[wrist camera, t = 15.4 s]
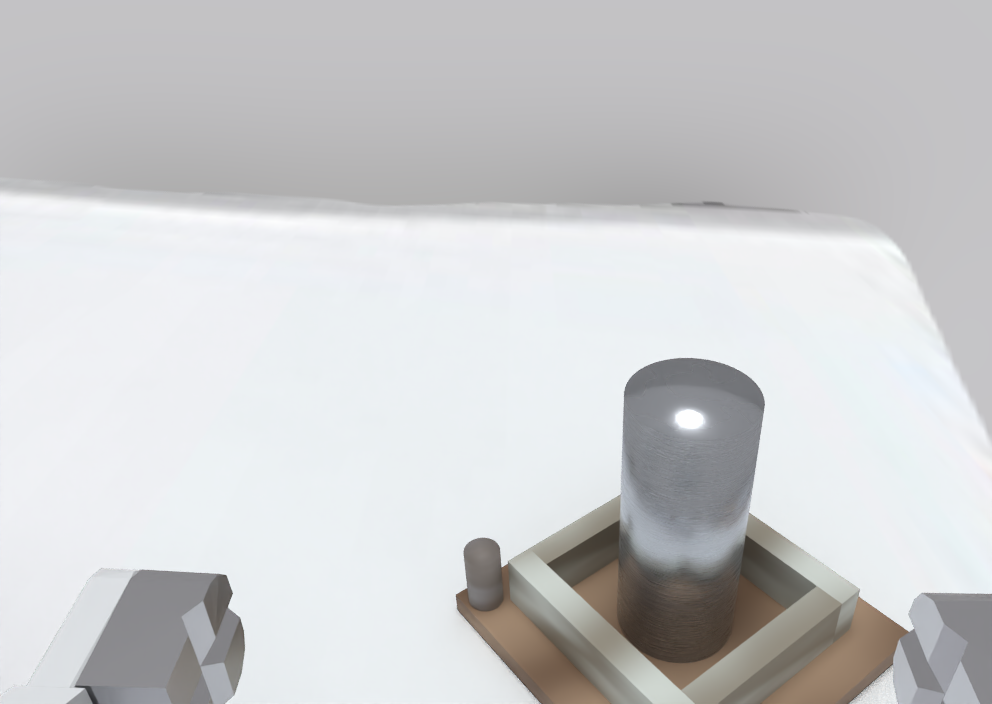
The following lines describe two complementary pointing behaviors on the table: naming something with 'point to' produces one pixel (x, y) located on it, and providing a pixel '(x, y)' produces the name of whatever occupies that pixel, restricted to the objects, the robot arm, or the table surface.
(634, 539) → the pin
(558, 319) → the table surface
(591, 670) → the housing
